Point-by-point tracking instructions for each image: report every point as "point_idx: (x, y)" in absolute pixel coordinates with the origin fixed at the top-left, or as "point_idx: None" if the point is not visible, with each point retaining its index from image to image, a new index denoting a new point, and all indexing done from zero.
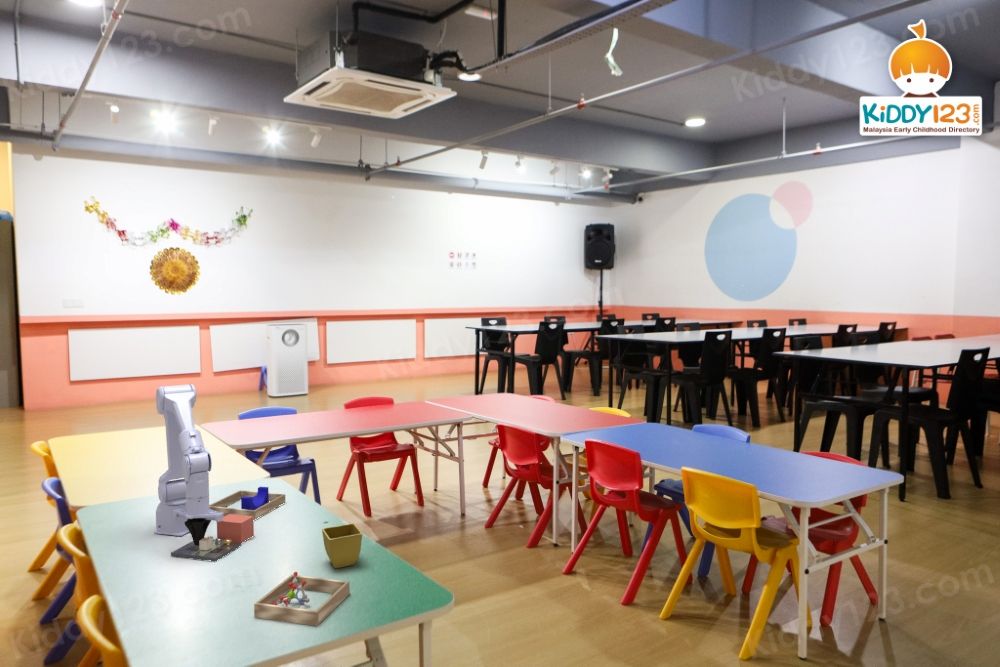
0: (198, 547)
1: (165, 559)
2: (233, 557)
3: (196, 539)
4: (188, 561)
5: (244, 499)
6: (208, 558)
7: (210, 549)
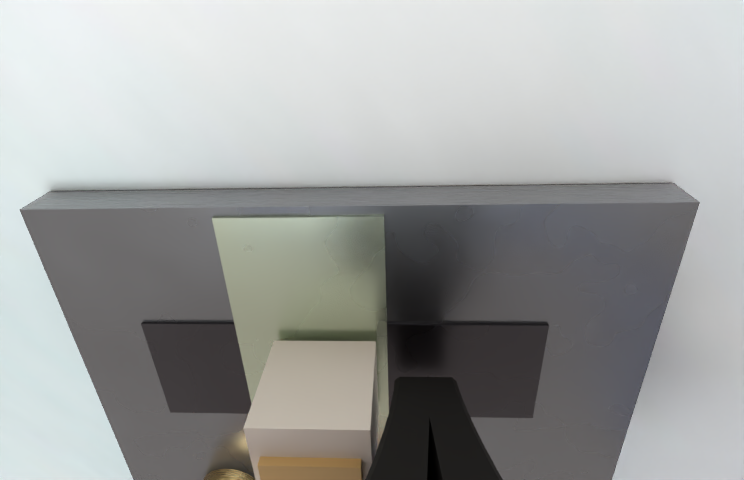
0: None
1: (700, 89)
2: (5, 320)
3: (408, 437)
4: (355, 120)
5: None
6: (123, 201)
7: None
